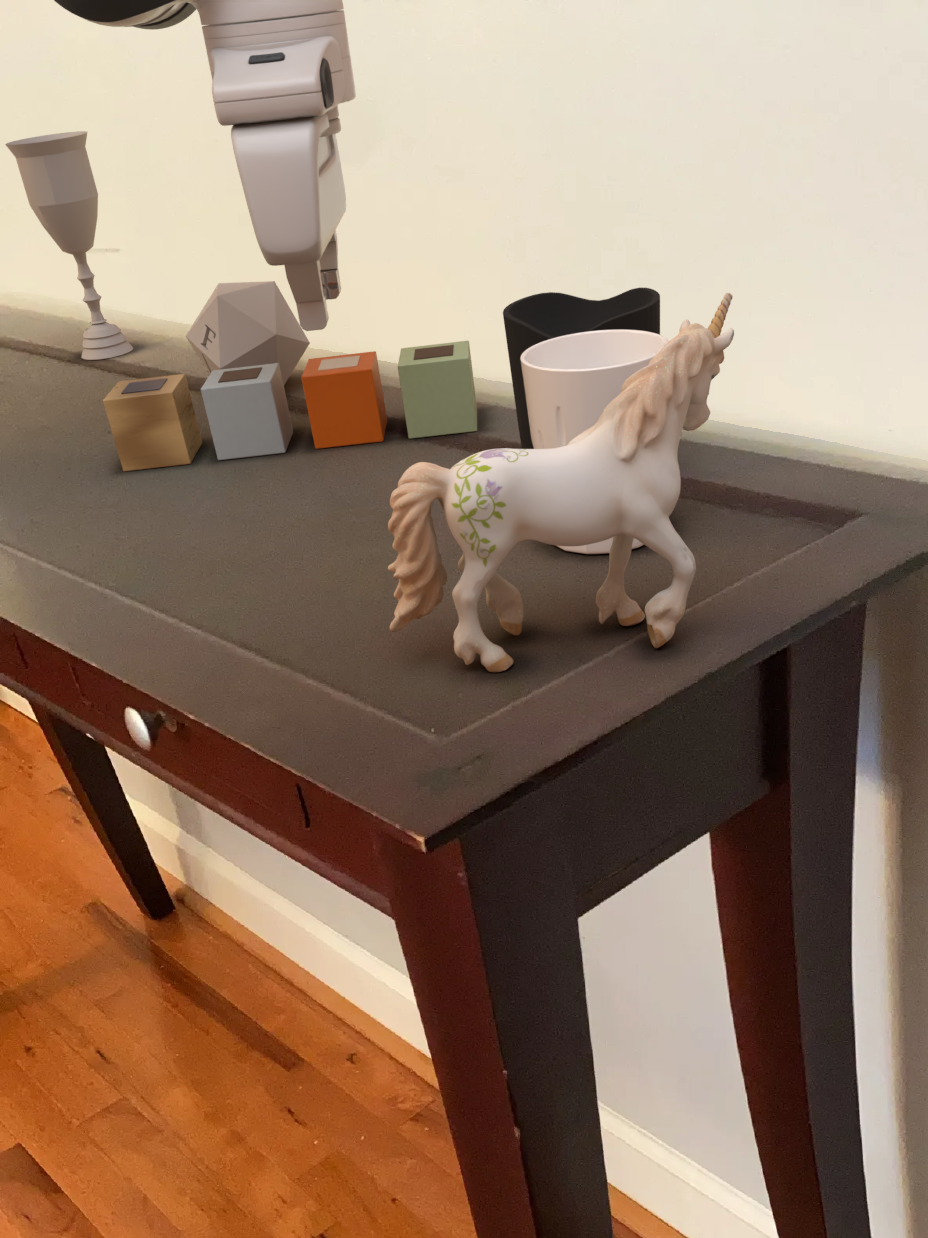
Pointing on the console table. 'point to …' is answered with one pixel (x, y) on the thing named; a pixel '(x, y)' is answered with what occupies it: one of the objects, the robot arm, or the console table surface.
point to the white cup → (581, 387)
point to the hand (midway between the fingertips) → (322, 312)
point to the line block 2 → (247, 411)
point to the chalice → (69, 219)
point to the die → (247, 329)
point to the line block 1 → (153, 422)
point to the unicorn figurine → (564, 502)
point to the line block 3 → (438, 389)
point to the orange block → (345, 400)
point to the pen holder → (569, 328)
